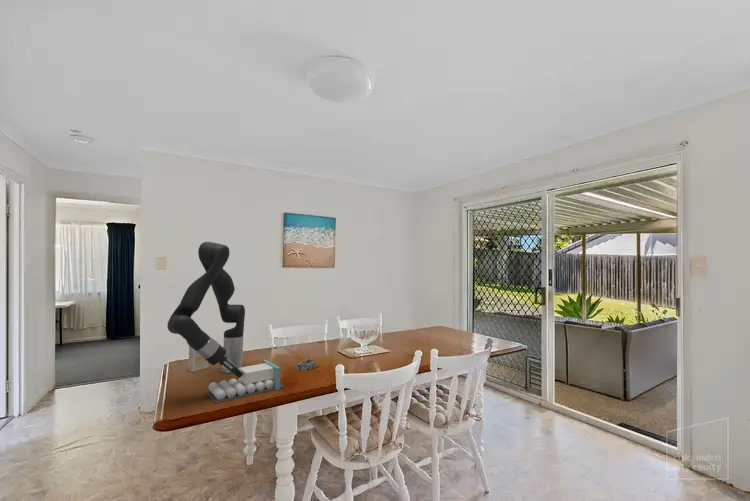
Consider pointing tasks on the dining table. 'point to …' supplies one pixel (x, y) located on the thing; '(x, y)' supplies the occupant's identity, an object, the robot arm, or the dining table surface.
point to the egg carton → (306, 364)
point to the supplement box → (196, 361)
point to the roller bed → (238, 389)
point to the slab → (256, 373)
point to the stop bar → (275, 371)
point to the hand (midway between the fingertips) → (240, 375)
